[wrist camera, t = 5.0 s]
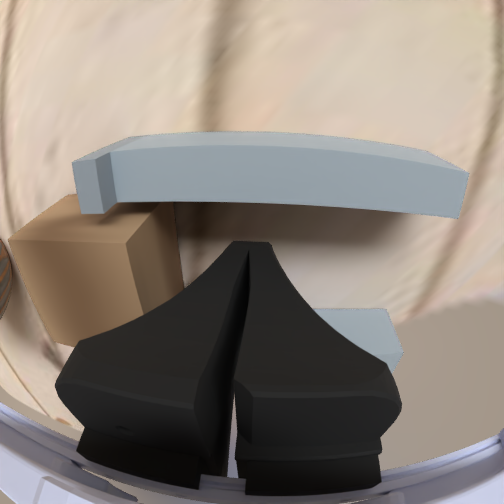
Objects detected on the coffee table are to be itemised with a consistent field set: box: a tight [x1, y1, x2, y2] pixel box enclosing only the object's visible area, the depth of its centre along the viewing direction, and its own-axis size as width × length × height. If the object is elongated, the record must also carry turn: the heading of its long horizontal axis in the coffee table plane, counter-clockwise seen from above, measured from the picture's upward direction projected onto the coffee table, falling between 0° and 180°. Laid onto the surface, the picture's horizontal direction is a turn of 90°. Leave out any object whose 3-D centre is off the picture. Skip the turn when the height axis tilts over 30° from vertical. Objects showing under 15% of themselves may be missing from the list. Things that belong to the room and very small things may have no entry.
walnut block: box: [8, 194, 184, 347], centre depth 10 cm, size 5×5×4 cm
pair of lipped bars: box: [72, 132, 469, 374], centre depth 10 cm, size 11×9×4 cm
